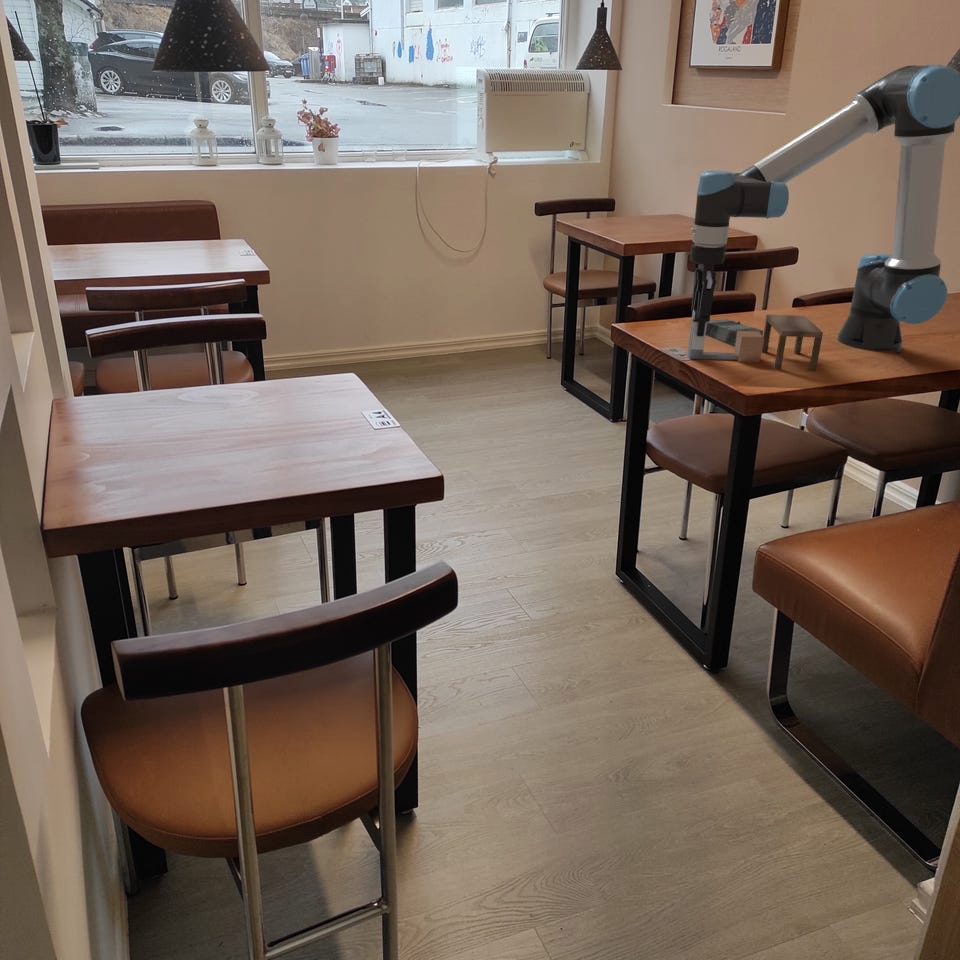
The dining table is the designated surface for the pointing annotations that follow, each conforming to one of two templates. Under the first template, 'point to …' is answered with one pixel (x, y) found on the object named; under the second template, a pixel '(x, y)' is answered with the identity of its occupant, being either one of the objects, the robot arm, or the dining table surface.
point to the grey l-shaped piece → (745, 347)
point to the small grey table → (793, 328)
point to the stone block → (727, 330)
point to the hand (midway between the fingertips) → (696, 346)
